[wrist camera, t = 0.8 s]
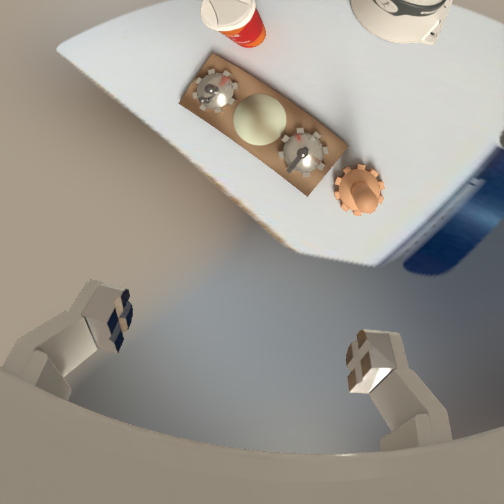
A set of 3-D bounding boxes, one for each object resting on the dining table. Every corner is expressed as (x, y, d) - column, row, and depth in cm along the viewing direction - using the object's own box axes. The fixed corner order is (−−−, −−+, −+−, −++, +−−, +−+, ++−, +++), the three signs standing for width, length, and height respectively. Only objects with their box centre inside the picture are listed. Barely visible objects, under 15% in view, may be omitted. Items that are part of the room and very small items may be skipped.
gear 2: (298, 118, 44) (296, 117, 40) (338, 149, 44) (339, 150, 41) (269, 156, 47) (265, 157, 44) (308, 185, 48) (306, 189, 44)
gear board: (215, 54, 43) (212, 52, 42) (348, 145, 45) (349, 146, 43) (182, 103, 48) (178, 103, 47) (307, 194, 50) (307, 196, 48)
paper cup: (220, 32, 42) (187, 5, 29) (255, 9, 38) (232, -25, 26) (244, 61, 43) (216, 39, 30) (281, 38, 40) (265, 7, 27)
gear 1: (212, 62, 43) (203, 57, 39) (248, 84, 43) (242, 80, 40) (187, 98, 46) (177, 97, 43) (222, 121, 47) (214, 121, 43)
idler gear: (355, 153, 45) (363, 158, 36) (392, 187, 45) (407, 199, 36) (324, 191, 49) (324, 204, 40) (360, 223, 49) (368, 243, 40)
